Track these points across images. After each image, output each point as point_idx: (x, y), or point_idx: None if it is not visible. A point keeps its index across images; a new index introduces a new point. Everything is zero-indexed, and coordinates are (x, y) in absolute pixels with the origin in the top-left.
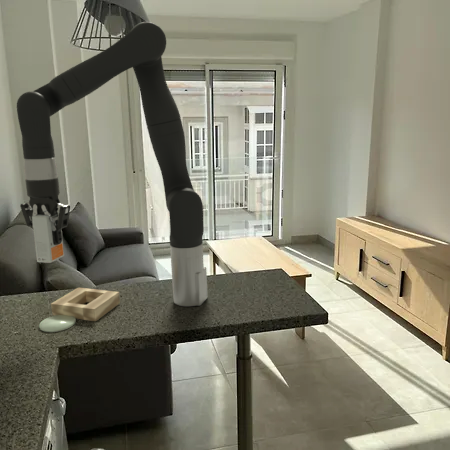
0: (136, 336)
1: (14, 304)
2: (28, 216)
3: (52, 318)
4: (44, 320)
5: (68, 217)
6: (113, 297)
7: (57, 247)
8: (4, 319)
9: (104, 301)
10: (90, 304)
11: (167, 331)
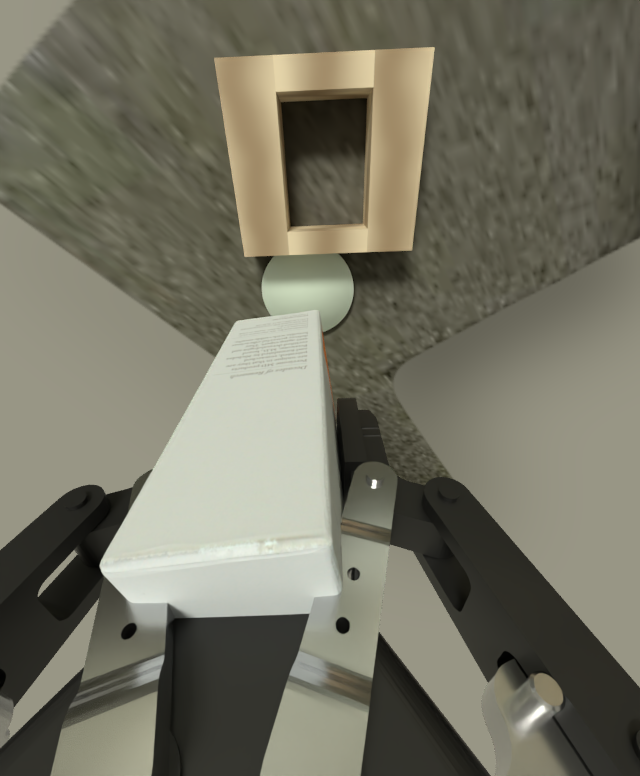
0: (548, 285)
1: (62, 216)
2: (68, 626)
3: (278, 278)
4: (267, 296)
5: (531, 569)
6: (425, 109)
7: (331, 392)
8: (150, 310)
9: (416, 178)
10: (379, 220)
11: (635, 234)
